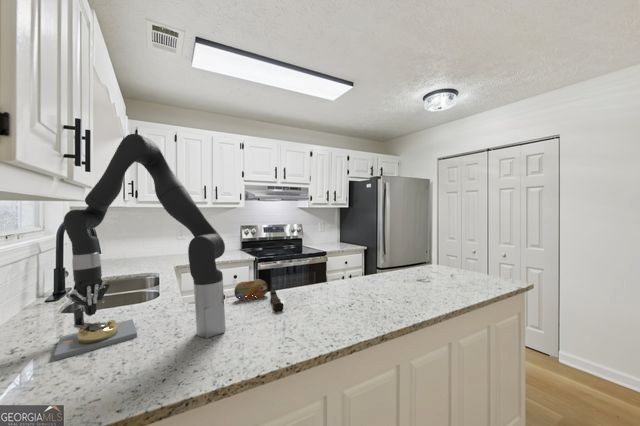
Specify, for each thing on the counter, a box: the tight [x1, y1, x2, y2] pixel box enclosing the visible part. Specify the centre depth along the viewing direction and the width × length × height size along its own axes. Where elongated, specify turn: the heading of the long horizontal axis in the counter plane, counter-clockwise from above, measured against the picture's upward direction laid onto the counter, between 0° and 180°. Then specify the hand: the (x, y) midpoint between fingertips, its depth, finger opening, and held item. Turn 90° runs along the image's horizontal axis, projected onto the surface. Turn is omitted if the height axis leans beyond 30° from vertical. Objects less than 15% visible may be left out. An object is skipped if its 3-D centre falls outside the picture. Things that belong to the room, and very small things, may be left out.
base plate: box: [53, 319, 138, 361], centre depth 91 cm, size 16×20×2 cm
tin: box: [233, 278, 269, 302], centre depth 126 cm, size 15×3×8 cm, turn 114°
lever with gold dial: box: [73, 307, 118, 344], centre depth 90 cm, size 15×10×8 cm, turn 72°
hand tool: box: [269, 288, 284, 313], centre depth 116 cm, size 19×4×5 cm, turn 15°
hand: (91, 314), depth 96 cm, fingers closed
